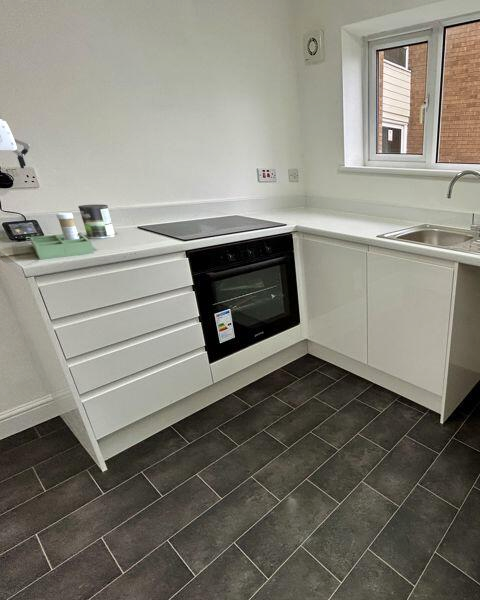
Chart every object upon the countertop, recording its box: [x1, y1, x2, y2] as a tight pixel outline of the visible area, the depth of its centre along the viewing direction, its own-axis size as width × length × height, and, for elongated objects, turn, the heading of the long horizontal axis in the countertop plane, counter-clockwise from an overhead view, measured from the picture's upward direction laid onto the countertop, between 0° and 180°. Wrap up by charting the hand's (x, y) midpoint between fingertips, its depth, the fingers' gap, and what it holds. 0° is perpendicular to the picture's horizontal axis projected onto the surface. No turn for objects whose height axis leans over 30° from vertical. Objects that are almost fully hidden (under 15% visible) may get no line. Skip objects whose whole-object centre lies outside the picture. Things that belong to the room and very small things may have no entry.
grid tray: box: [29, 232, 95, 260], centre depth 138 cm, size 15×23×5 cm
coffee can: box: [77, 204, 116, 240], centre depth 161 cm, size 10×10×14 cm
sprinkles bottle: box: [56, 212, 79, 240], centre depth 138 cm, size 5×5×14 cm
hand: (3, 168), depth 127 cm, fingers open, 9 cm apart
